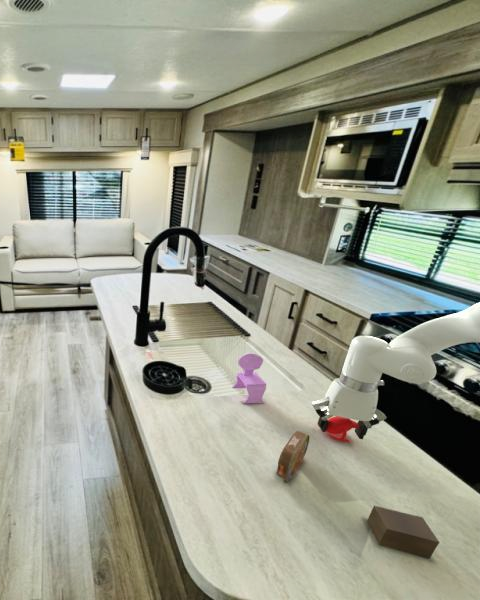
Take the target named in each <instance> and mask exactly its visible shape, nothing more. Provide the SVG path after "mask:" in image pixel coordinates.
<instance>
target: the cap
mask: <svg viewBox="0 0 480 600" xmlns="http://www.w3.org/2000/svg"><path fill="white" fill-rule="evenodd" d="M328 422H329V423H328V426H327V429H326V432H325V434H326V435H328V436H329V437H330V438H332V439H334V440H336V441H340V442H344V443H351V440H350V439H348V438H347V436H348V432H350V431H351V430H352V429H355V428H359V427H360V425H359V424H358V422H356V420H354V419H348V418H343V417H337V416H332V417H331V418H329V419H328Z"/></svg>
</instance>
